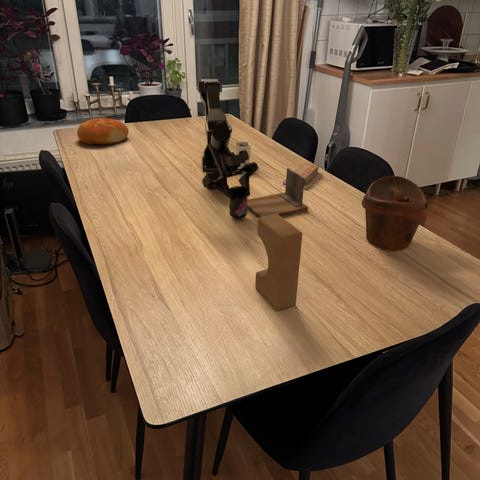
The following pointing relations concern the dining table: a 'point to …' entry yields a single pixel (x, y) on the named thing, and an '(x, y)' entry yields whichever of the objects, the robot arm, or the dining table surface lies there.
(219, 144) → the robot arm
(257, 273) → the decorative block
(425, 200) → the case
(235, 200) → the supplement container
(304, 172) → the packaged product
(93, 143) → the bread
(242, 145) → the white cylindrical container
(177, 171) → the dining table surface
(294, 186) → the shelf board
